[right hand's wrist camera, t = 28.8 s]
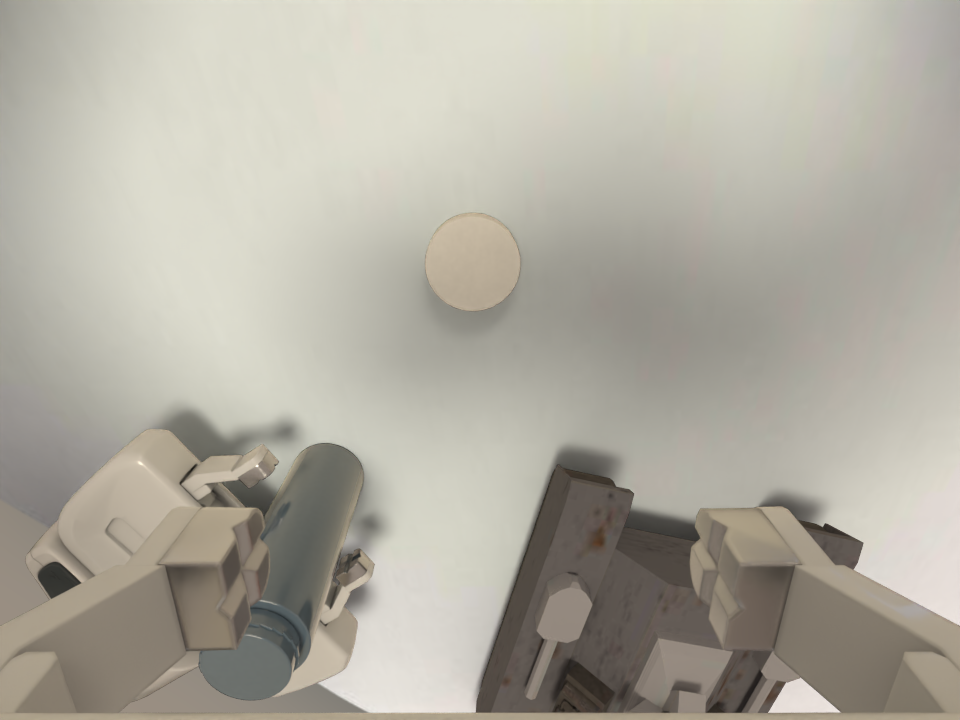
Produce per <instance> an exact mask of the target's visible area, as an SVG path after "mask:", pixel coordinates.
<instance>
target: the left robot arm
mask: <svg viewBox="0 0 960 720" xmlns="http://www.w3.org/2000/svg"><path fill="white" fill-rule="evenodd" d="M278 463H279V461H278V460H277V459H276V458H275V456H274V455H273V454H272V453H271V452H270V451H269V450H268V449H267V448H266V447H265V446H264V445H263V444H261V445H259V446H258V447H256V448H255V449H253V450H252V451H250V452H249V453H247V454H246V455H244V456H242V455H225V456H210V457H209V458H207V459H206V460H205V461H203V462H202V463H201V462H200V461H199V460H198V459H197V458H196V457H195V456H194V455H193V454H192V453H191V452H190V451H189V450H188V449H187V448H186V446H185V445H184V444H183V443H182V442H181V441H180V440H179V439H178V438H177V437H176V436H175V435H174V434H173V433H172V432H170V431H168V430H162V429H147V430H145V431H144V432H143V433H141V434H140V435H139V436H137V437H136V438H135V439H134V440H132V441H131V442H130V443H129V444H128V445H127V446H125V447H124V448H123V449H122V450H121V451H119V452H118V453H117V454H116V455H115V456H114V457H113V458H111V459H110V460H109V461H108V462H107V463H106V464H105V465H104V466H103V467H102V468H100V469H99V470H98V471H97V472H96V473H95V474H94V475H93V476H92V477H91V478H90V479H89V480H88V481H87V482H86V483H85V484H84V485H83V486H82V487H81V488H80V489H79V490H78V491H77V492H76V493H75V494H74V495H73V496H72V497H71V498H70V500H69V501H68V502H67V503H66V504H65V506H64V507H63V509H62V511H61V513H60V515H59V518H58V520H57V521H56V522H55V523H54V524H53V525H52V526H51V527H50V528H49V529H48V530H47V531H46V532H45V533H44V534H43V536H42V537H41V538H40V539H39V540H38V541H37V542H36V544H35V545H34V546H33V547H32V549H31V550H30V551H29V552H28V554H27V555H26V558H25V562H26V565H27V568H28V569H29V571H30V572H31V574H32V575H33V577H34V578H35V579H36V581H37V582H38V584H39V585H40V587H41V588H42V589H43V591H44V592H45V594H46V595H47V597H48V599H49V600H51V599H52V598H54V597H56V596H58V595H60V594H62V593H64V592H66V591H68V590H70V589H71V588H73V587H75V586H77V585H79V584H81V583H83V582H85V581H87V580H89V579H91V578H92V577H94V576H96V575H98V574H100V573H102V572H104V571H106V570H108V569H110V568H112V567H113V566H115V565H125V564H126V563H127V562H128V561H129V559H130V558H131V557H132V556H133V555H134V553H135V552H136V551H137V550H138V549H139V548H140V546H141V545H142V544H143V543H144V542H145V540H146V539H147V538H148V537H149V536H150V534H151V533H152V532H153V531H154V530H155V529H156V527H157V526H158V525H159V524H160V523H161V521H162V520H163V519H164V518H165V517H166V515H167V514H168V513H169V512H170V511H171V510H172V509H174V508H177V507H239V508H246V507H245V506H244V505H243V504H242V503H241V502H240V501H239V500H238V499H237V498H236V497H235V496H234V495H233V494H232V493H231V492H230V491H229V490H228V489H227V488H226V487H225V486H224V485H223V484H222V483H221V482H225V481H234V480H240V481H241V482H242V483H243V484H244V485H246V486H247V487H248V488H249V489H250V488H251V487H253V486H254V485H256V484H257V483H258V482H259V480H264V479H265V478H267V477H268V476H269V475H270V474H271V473H272V472H273V471H274V469H275V466H276V465H277V464H278ZM374 565H375V564H374V563H373V562H372V560H371V559H370V558H369V557H368V556H367V555H366V554H365V553H364V552H363V551H362V550H361V549H360V548H359V549H356V550H355V551H354V553H353V554H348V555H346V556H345V557H343V558H341V561H340V564H339V568H340V569H339V570H337V574H336V579H337V580H338V581H339V582H340V583H339V585H338V586H337V584H336V583H335V582H334V581H332V583H331V586H330V590H329V593H328V596H327V599H326V602H325V606H324V609H323V612H322V615H321V618H320V621H319V625H318V628H317V631H316V634H315V637H314V641H313V644H312V647H311V650H310V653H309V655H308V657H307V659H306V660H305V662H304V663H303V664H302V665H301V666H300V667H299V668H297V669H296V670H295V671H294V672H293V673H292V676H291V679H290V681H289V683H288V684H287V686H286V687H285V688H284V689H283V690H282V691H281V692H279V693H278V694H276V695H274V696H272V697H278V696H281V695H284V694H287V693H291V692H294V691H297V690H300V689H303V688H305V687H308V686H311V685H313V684H316V683H318V682H321V681H323V680H325V679H327V678H330V677H332V676H334V675H336V674H338V673H340V672H341V671H343V670H344V669H345V668H346V666H347V665H348V663H349V661H350V658H351V655H352V652H353V648H354V645H355V640H356V633H357V627H358V623H357V620H356V618H355V617H354V616H353V615H352V614H351V613H350V612H349V611H348V610H347V609H346V608H345V607H344V605H345V603H346V601H347V599H348V597H349V595H350V593H351V591H352V590H354V589H356V588H357V587H359V586H361V585H362V584H364V583H366V582H367V581H368V580H369V579H370V578H371V577H372V574H373V569H374ZM199 653H200V651H186V655H185V656H184V657H183V658H181V659H180V660H179V661H178V662H177V663H176V664H174V665H173V666H172V667H171V668H170V669H169V670H167V671H166V672H165V673H164V674H163V675H162V676H161V677H159V678H158V679H157V680H156V681H155V682H154V683H152V684H151V685H150V686H149V687H148V688H147V689H145V690H144V691H143V692H142V693H141V694H140V695H139V696H137V697H136V698H135V699H134V700H133V701H132V702H134V701H137V700H139V699H142V698H144V697H146V696H148V695H150V694H152V693H153V692H155V691H157V690H159V689H160V688H162V687H164V686H165V685H167V684H169V683H171V682H172V681H174V680H176V679H177V678H179V677H181V676H183V675H184V674H186V673H188V672H190V671H191V670H193V669H195V668H196V667H198V663H199Z"/></svg>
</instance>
